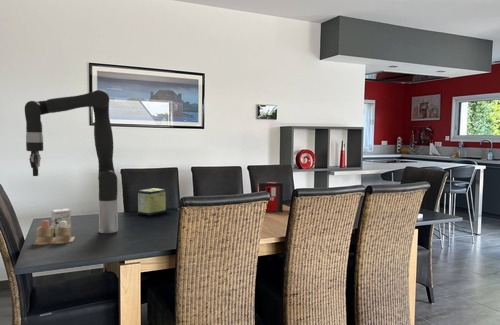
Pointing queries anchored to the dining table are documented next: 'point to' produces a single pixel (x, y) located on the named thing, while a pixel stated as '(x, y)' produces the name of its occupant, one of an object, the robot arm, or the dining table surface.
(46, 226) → the terracotta plug
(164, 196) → the protein box
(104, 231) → the robot arm
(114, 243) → the dining table surface
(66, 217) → the ink box
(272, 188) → the cleaning product box
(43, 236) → the socket block
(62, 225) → the grey plug
